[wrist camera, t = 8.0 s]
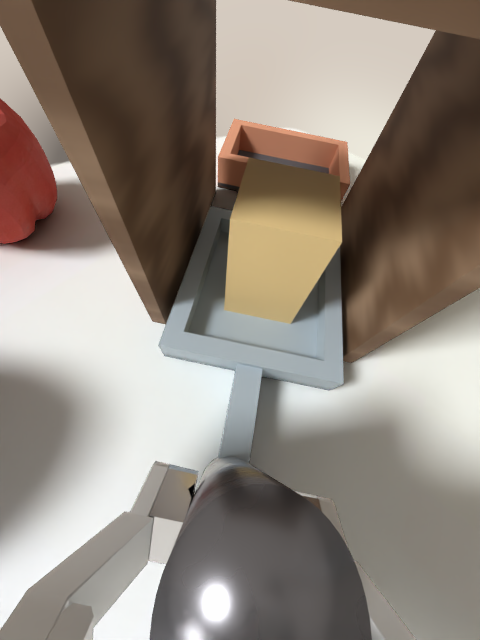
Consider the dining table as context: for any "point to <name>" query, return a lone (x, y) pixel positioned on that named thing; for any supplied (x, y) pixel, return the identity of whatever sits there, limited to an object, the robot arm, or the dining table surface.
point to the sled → (255, 476)
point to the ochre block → (280, 238)
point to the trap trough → (279, 152)
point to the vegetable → (22, 178)
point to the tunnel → (200, 149)
